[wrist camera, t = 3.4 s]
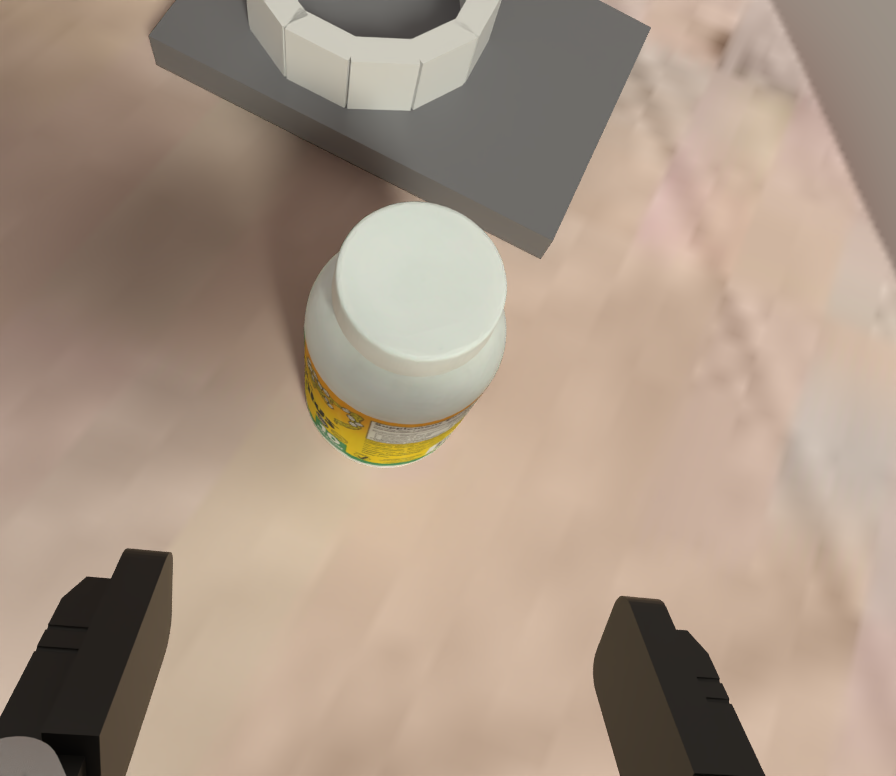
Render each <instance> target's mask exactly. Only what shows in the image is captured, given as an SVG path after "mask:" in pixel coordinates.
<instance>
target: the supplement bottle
mask: <svg viewBox="0 0 896 776" xmlns="http://www.w3.org/2000/svg"><path fill="white" fill-rule="evenodd" d="M506 293H507V281H506V274H505V269H504V265H503V262H502V259H501V256H500V254H499V252H498V250H497V248H496V247H495V245H494V243H493V242H492V241H491V239H490V238H489V237H488V235H487V234H486V233H485V232H484V231H483V230H482V229H481V228H480V227H479V226H478V225H477V224H475V223H474V222H473V221H472V220H470V219H469V218H467V217H466V216H464V215H463V214H461V213H459V212H457V211H455V210H453V209H450V208H448V207H445V206H441V205H439V204H434V203H429V202H417V201H412V202H402V203H396V204H391V205H388V206H386V207H383V208H381V209H379V210H377V211H375V212H372V213H371V214H369V215H368V216H366V217H365V218H363V219H362V220H361V221H360V222H359V223H358V224H357V225H355V226H354V227H353V229H352V230H351V231H350V233H349V234H348V235H347V237H346V239H345V240H344V242H343V244H342V246H341V248H340V251H339V252H338V253H337V254H335V255H334V256H333V257H332V258H331V259H330V260H329V262H328V263H327V264H326V265H325V266H324V267H323V269H322V270H321V272H320V273H319V275H318V277H317V278H316V280H315V282H314V284H313V286H312V288H311V291H310V294H309V297H308V301H307V306H306V312H305V322H304V344H305V356H304V358H305V395H306V402H307V407H308V411H309V414H310V417H311V419H312V421H313V423H314V425H315V427H316V428H317V430H318V431H319V432H320V434H321V435H322V436H323V437H324V438H325V440H326V441H327V442H328V443H329V444H330V445H331V446H332V447H333V448H334V449H336V450H337V451H338V452H339V453H341V454H342V455H343V456H345V457H346V458H348V459H350V460H352V461H354V462H356V463H359V464H362V465H366V466H371V467H377V468H392V467H400V466H404V465H408V464H411V463H414V462H416V461H419V460H421V459H423V458H425V457H426V456H428V455H430V454H431V453H433V452H434V451H435V450H436V449H437V448H439V447H440V446H441V445H442V444H443V443H444V441H445V440H446V439H447V438H448V437H449V436H450V434H451V433H452V432H453V431H454V429H455V428H456V427H457V426H458V425H459V423H460V422H461V421H462V419H463V418H464V417H465V415H466V414H467V413H468V412H469V410H470V409H471V407H472V406H473V405H474V404H475V403H476V401H477V400H478V399H479V398H480V396H481V395H482V394H483V392H484V391H485V390H486V388H487V387H488V386H489V384H490V382H491V381H492V379H493V378H494V376H495V374H496V372H497V370H498V368H499V365H500V363H501V360H502V357H503V353H504V349H505V343H506V318H505V312H504V305H505V300H506Z"/></svg>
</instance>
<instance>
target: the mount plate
mask: <svg viewBox="0 0 896 776" xmlns="http://www.w3.org/2000/svg"><path fill="white" fill-rule="evenodd" d="M650 29H651V27H649V26H647V25H645V24H643V23H641V22H639V21H638V20H636V19H634V18H632V17H630V16H628V15H626V14H624V13H622V12H620V11H618V10H616V9H615V8H613V7H611V6H609V5H607V4H605V3H603V2H601V1H599V0H176V1H175V2H174V3H173V5H172V6H171V7H170V9H169V10H168V11H167V12H166V14H165V15H164V16H163V18H162V19H161V20H160V22H159V23H158V24H157V26H156V27H155V28H154V29H153V31H152V32H151V33H150V35H149V39H150V43H151V46H152V50H153V54H154V57H155V61H156V65H158V66H160V67H162V68H164V69H166V70H168V71H170V72H172V73H174V74H176V75H178V76H180V77H182V78H184V79H186V80H188V81H190V82H192V83H194V84H196V85H198V86H200V87H202V88H204V89H206V90H208V91H210V92H212V93H214V94H216V95H218V96H219V97H221V98H223V99H225V100H227V101H229V102H231V103H233V104H235V105H237V106H239V107H241V108H243V109H245V110H247V111H249V112H251V113H253V114H255V115H257V116H259V117H261V118H263V119H265V120H267V121H269V122H271V123H273V124H275V125H277V126H279V127H281V128H283V129H285V130H287V131H289V132H291V133H293V134H295V135H297V136H299V137H301V138H303V139H304V140H306V141H308V142H310V143H312V144H314V145H316V146H318V147H320V148H322V149H324V150H326V151H328V152H330V153H332V154H334V155H336V156H338V157H340V158H342V159H344V160H346V161H348V162H350V163H352V164H354V165H356V166H358V167H360V168H362V169H364V170H366V171H368V172H370V173H372V174H374V175H376V176H378V177H380V178H382V179H384V180H386V181H387V182H389V183H391V184H393V185H395V186H397V187H399V188H401V189H403V190H405V191H407V192H409V193H411V194H413V195H415V196H417V197H419V198H421V199H423V200H425V201H427V202H429V203H434V204H439V205H441V206H445V207H448V208H450V209H453V210H455V211H457V212H459V213H461V214H463V215H464V216H466V217H467V218H469V219H470V220H472V221H473V222H474V223H475V224H477V225H478V226H479V227H480V228H481V229H482V230H484V231H486V232H488V233H490V234H492V235H494V236H496V237H498V238H500V239H502V240H504V241H506V242H508V243H510V244H512V245H514V246H516V247H518V248H520V249H522V250H524V251H526V252H528V253H530V254H532V255H534V256H536V257H538V258H540V259H541V258H542V256H543V255H544V253H545V252H546V250H547V249H548V247H549V246H550V244H551V243H552V241H553V239H554V237H555V235H556V233H557V231H558V228H559V226H560V224H561V222H562V220H563V218H564V215H565V213H566V211H567V209H568V207H569V204H570V202H571V200H572V198H573V196H574V194H575V191H576V189H577V187H578V185H579V183H580V181H581V178H582V176H583V174H584V172H585V170H586V168H587V165H588V163H589V161H590V159H591V157H592V155H593V152H594V150H595V148H596V146H597V144H598V142H599V139H600V137H601V135H602V133H603V131H604V129H605V126H606V124H607V122H608V120H609V118H610V116H611V113H612V111H613V109H614V107H615V105H616V102H617V100H618V98H619V96H620V94H621V92H622V89H623V87H624V85H625V83H626V81H627V79H628V76H629V74H630V72H631V70H632V68H633V66H634V63H635V61H636V59H637V57H638V55H639V53H640V50H641V48H642V46H643V44H644V42H645V40H646V37H647V35H648V33H649V31H650Z"/></svg>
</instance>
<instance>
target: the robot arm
mask: <svg viewBox="0 0 896 776" xmlns="http://www.w3.org/2000/svg"><path fill="white" fill-rule="evenodd" d="M172 575H173V556H172V553H171V552H161V551H151V550H140V549H129V548H127V549H125V550H124V552H123V554H122V556H121V558H120V560H119V562H118V564H117V567H116V569H115V571H114V573H113V575H112V578H111V579H109V578H97V577H86V578H85V579H83V580H82V581H81V582H80V583H79V584H78V585H76V586H75V587H74V588H73V589H72V590H71V591H70V592H68V593H67V594H66V595H65V596H64V597H63V598H62V599H61V601H60V603H59V605H58V606H57V608H56V610H55V612H54V614H53V616H52V618H51V620H50V622H49V624H48V628H47V630H45V632H44V633H43V635H42V637H41V639H40V641H39V643H38V645H37V650H36V651H34V653H33V655H32V657H31V659H30V660H29V662H28V664H27V666H26V668H25V670H24V672H23V674H22V676H21V678H20V680H19V682H18V684H17V686H16V687H15V689H14V691H13V693H12V695H11V697H10V699H9V701H8V703H7V705H6V707H5V709H4V711H3V713H2V714H1V716H0V776H125V775H126V772H127V769H128V766H129V763H130V760H131V757H132V754H133V751H134V748H135V745H136V742H137V739H138V735H139V732H140V729H141V726H142V723H143V720H144V717H145V714H146V711H147V708H148V705H149V702H150V699H151V695H152V692H153V689H154V686H155V683H156V680H157V677H158V674H159V671H160V668H161V665H162V662H163V659H164V655H165V652H166V648H167V644H168V639H169V634H170V627H171V617H172ZM593 679H594V686H595V690H596V694H597V697H598V701H599V704H600V708H601V711H602V715H603V718H604V722H605V725H606V729H607V732H608V736H609V739H610V742H611V746H612V749H613V753H614V756H615V760H616V763H617V767H618V770H619V774H620V776H765V774H764V772H763V770H762V768H761V766H760V763H759V761H758V759H757V757H756V755H755V753H754V751H753V748H752V746H751V744H750V742H749V740H748V738H747V736H746V734H745V731H744V729H743V727H742V725H741V723H740V721H739V719H738V716H737V714H736V712H735V710H734V708H733V706H732V704H729V697H728V695H727V693H726V691H725V689H724V687H723V684H722V683H720V682H719V679H720V678H719V676H718V674H717V672H716V669H715V667H714V665H713V663H712V661H711V659H710V657H709V654H708V653H707V652H706V651H705V650H704V648H703V647H702V646H701V645H700V644H699V643H698V642H697V641H696V640H695V639H694V637H693V636H692V635H691V634H690V633H689V632H688V631H686V630H676V629H675V626H674V624H673V622H672V619H671V617H670V615H669V613H668V610H667V608H666V606H665V604H664V603H663V602H662V601H661V600H659V599H649V598H638V597H628V596H620V597H619V598H618V599H617V600H616V602H615V604H614V607H613V609H612V612H611V614H610V617H609V620H608V622H607V625H606V627H605V630H604V633H603V635H602V638H601V640H600V643H599V645H598V648H597V651H596V654H595V658H594V665H593Z"/></svg>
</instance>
